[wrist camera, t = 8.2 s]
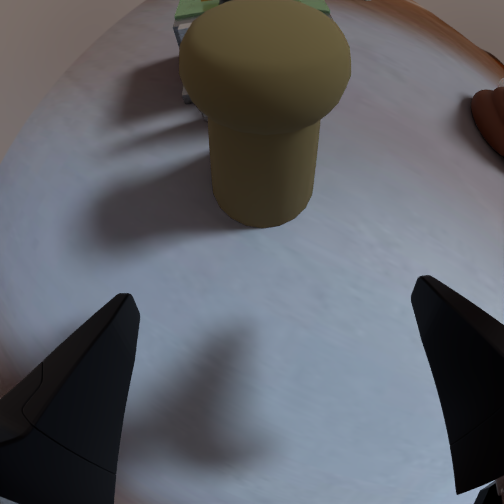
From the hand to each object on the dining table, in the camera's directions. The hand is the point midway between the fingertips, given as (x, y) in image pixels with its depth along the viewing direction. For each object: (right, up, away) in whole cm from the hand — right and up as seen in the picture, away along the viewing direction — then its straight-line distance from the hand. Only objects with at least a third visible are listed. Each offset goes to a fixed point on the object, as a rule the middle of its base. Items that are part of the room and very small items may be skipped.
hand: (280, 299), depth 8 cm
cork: (0, +6, +8) cm, 10 cm away
